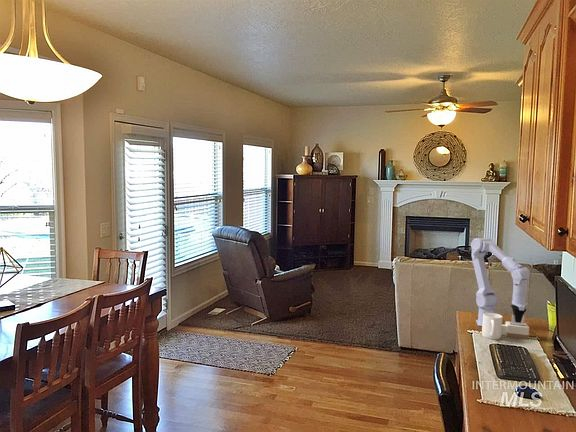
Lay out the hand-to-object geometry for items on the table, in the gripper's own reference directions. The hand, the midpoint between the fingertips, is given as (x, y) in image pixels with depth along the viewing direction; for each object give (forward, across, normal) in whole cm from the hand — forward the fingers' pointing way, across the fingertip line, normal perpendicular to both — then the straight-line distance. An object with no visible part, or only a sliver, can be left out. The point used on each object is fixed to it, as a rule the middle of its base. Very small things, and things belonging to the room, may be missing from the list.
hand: (517, 321), depth 223 cm
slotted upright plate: (+7, 0, +5) cm, 8 cm away
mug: (+7, -8, +12) cm, 16 cm away
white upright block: (+4, 0, 0) cm, 4 cm away
